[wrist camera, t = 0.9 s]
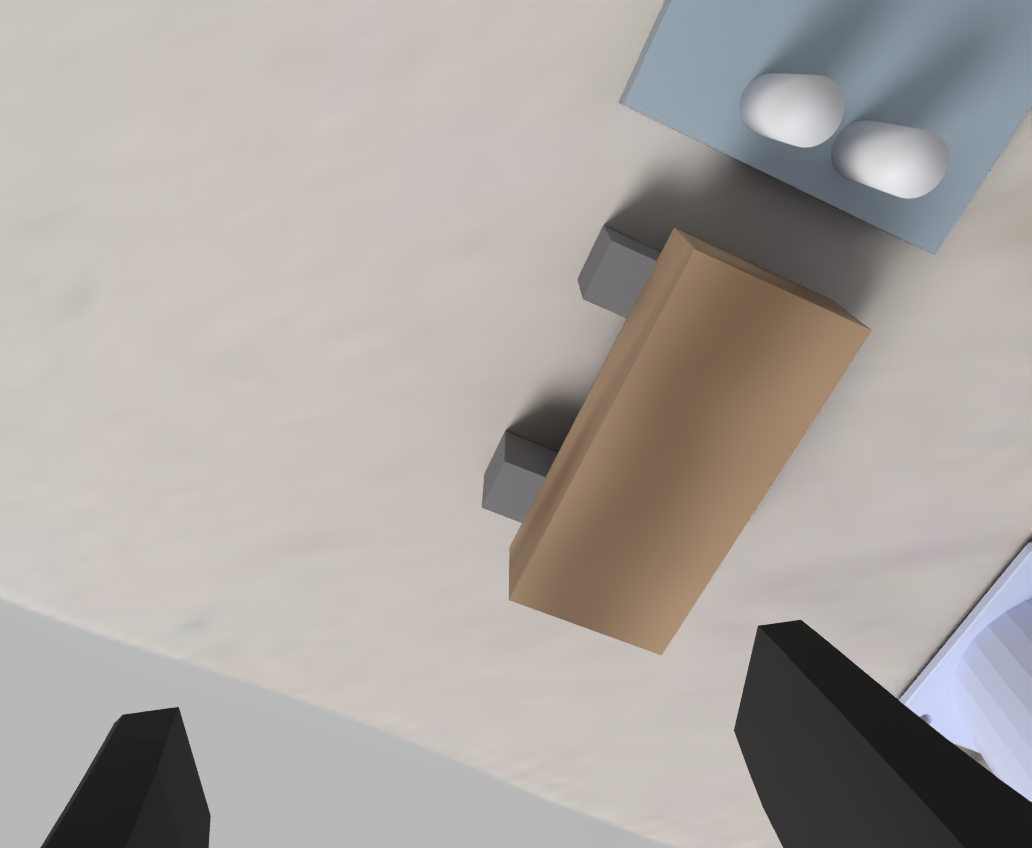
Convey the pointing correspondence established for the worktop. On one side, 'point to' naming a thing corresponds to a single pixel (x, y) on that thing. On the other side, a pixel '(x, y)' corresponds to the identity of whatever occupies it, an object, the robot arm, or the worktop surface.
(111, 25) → the worktop surface
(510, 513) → the board rack
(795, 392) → the shelf board
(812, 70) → the peg base
